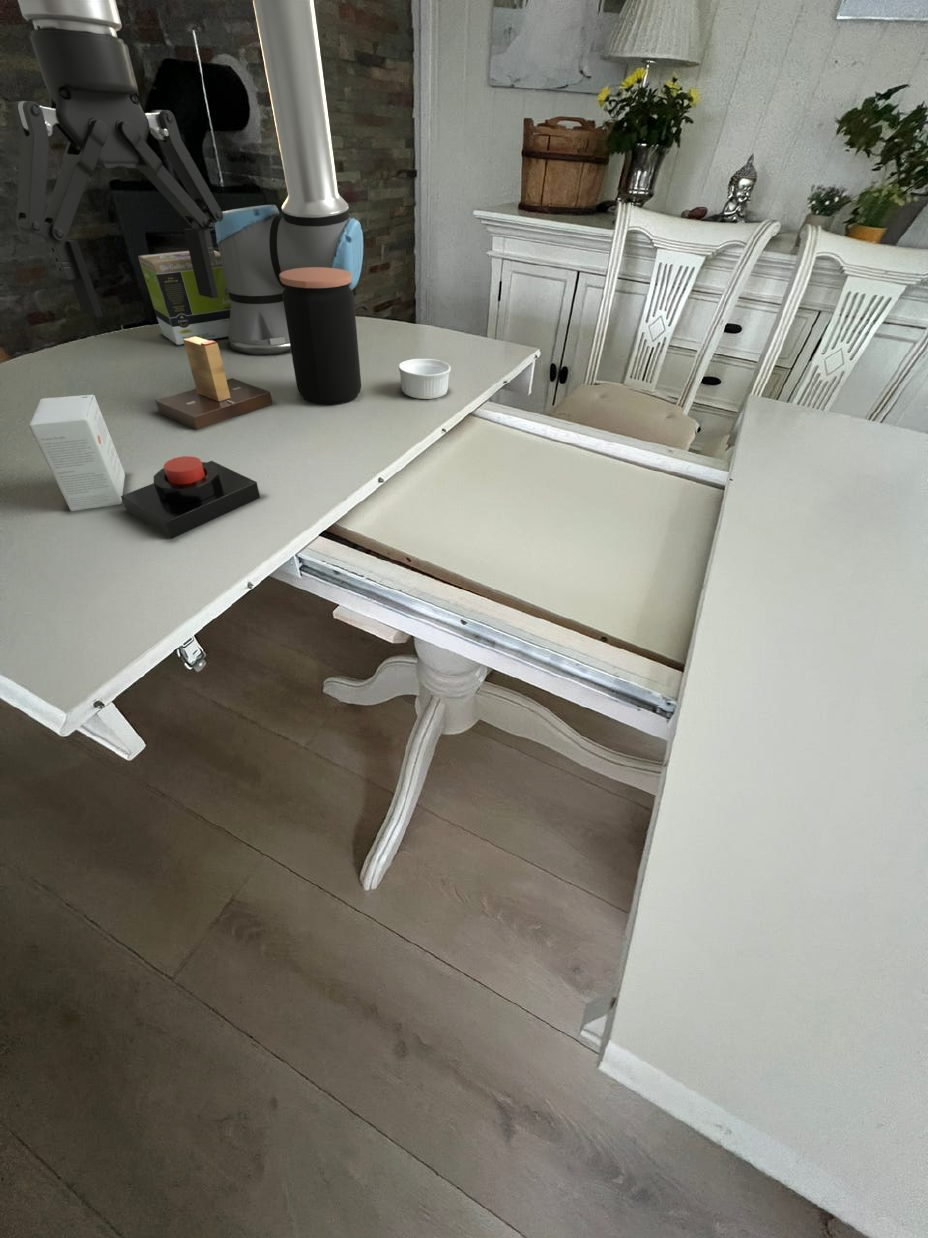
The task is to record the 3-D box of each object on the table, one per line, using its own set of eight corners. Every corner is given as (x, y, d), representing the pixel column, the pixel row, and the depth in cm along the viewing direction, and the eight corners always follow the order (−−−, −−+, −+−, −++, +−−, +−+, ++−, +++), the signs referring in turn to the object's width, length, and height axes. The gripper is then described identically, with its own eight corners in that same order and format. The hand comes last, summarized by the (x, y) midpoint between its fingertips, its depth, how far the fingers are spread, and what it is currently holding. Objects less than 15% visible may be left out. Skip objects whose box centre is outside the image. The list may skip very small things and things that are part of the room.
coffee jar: (368, 386, 100) (359, 268, 89) (353, 408, 92) (341, 282, 81) (309, 382, 101) (292, 265, 89) (289, 404, 93) (268, 278, 81)
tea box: (230, 324, 128) (212, 247, 118) (248, 335, 122) (231, 254, 112) (160, 334, 120) (136, 252, 111) (176, 346, 114) (152, 261, 105)
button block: (215, 476, 74) (207, 446, 71) (260, 498, 70) (253, 468, 67) (127, 512, 66) (114, 481, 64) (171, 539, 62) (159, 507, 60)
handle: (197, 393, 90) (182, 337, 85) (209, 389, 91) (195, 334, 86) (218, 401, 88) (204, 344, 82) (230, 397, 89) (217, 341, 84)
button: (192, 466, 68) (187, 452, 67) (212, 476, 66) (208, 462, 65) (161, 478, 65) (156, 464, 64) (181, 489, 64) (176, 475, 62)
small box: (77, 481, 71) (39, 397, 65) (126, 475, 73) (94, 392, 66) (69, 512, 66) (26, 424, 59) (122, 505, 67) (86, 418, 61)
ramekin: (440, 381, 104) (440, 356, 101) (457, 397, 98) (458, 371, 95) (393, 385, 101) (392, 360, 98) (408, 403, 95) (407, 376, 92)
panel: (234, 389, 97) (231, 376, 96) (272, 404, 93) (270, 390, 92) (159, 413, 89) (154, 399, 87) (197, 430, 84) (193, 415, 83)
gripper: (-80, 2, 40) (52, 331, 54) (226, 48, 55) (268, 294, 69) (-116, 9, 43) (17, 317, 57) (182, 51, 59) (230, 285, 72)
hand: (154, 305), depth 63 cm, fingers open, 13 cm apart
